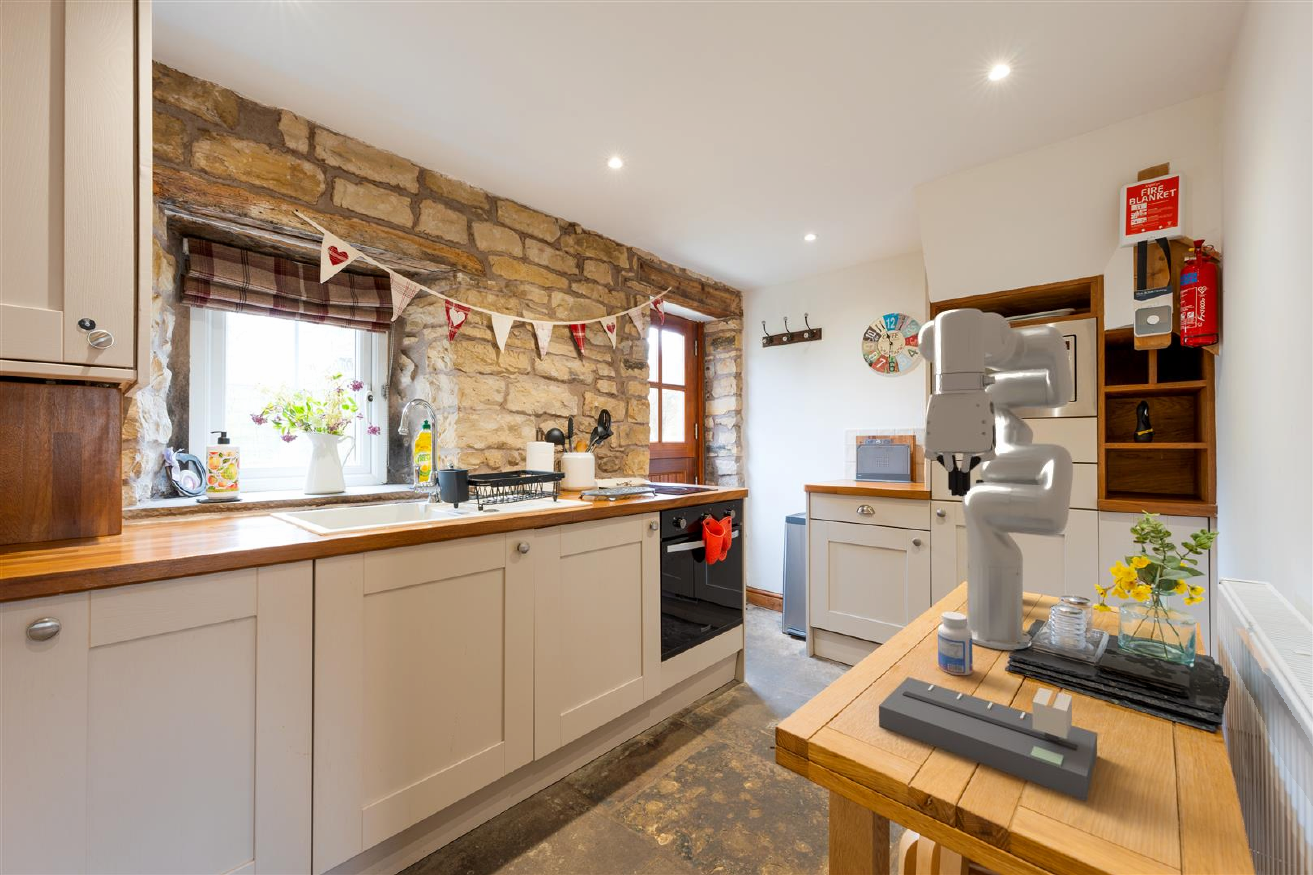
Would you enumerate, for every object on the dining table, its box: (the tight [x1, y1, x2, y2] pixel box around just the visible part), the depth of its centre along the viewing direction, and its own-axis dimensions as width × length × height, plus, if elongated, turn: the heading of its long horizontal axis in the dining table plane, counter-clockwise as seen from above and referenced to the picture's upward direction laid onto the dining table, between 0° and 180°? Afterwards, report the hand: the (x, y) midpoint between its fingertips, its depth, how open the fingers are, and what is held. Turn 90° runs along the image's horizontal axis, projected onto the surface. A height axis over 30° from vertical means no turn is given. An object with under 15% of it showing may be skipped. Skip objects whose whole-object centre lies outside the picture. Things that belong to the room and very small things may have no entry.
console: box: [878, 676, 1098, 803], centre depth 76 cm, size 12×24×3 cm, turn 47°
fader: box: [1032, 687, 1073, 741], centre depth 71 cm, size 5×4×5 cm
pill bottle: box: [937, 611, 974, 676], centre depth 98 cm, size 6×5×10 cm
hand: (959, 494), depth 92 cm, fingers closed
